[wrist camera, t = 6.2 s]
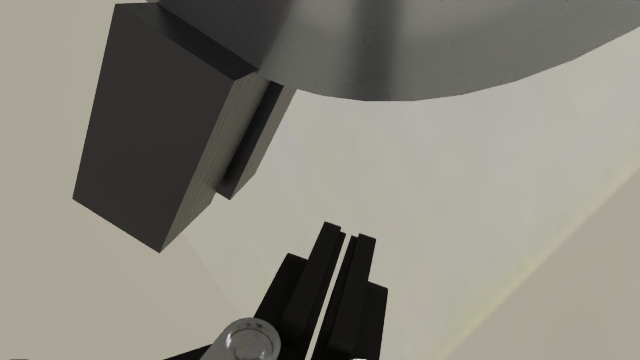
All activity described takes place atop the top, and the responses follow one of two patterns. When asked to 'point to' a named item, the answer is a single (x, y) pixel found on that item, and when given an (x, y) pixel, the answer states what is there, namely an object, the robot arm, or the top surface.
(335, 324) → the robot arm
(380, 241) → the top surface
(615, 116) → the top surface
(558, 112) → the top surface
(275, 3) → the cooker lid
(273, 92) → the cooker pot
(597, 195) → the top surface
